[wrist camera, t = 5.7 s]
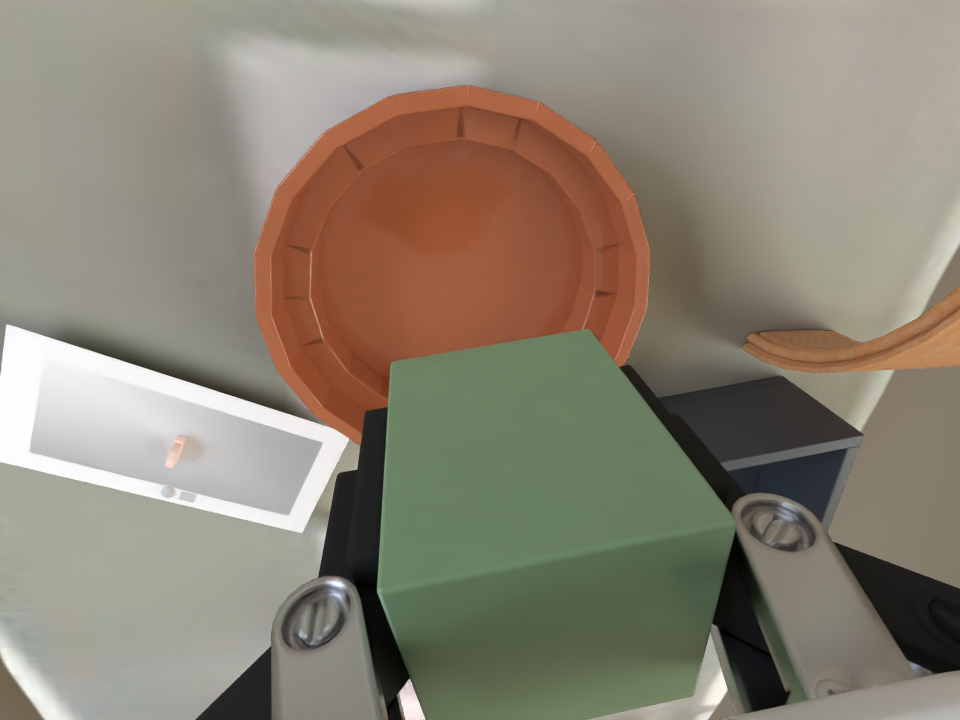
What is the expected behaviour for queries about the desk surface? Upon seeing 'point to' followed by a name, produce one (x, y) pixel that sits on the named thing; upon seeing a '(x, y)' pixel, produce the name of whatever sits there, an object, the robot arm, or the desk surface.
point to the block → (542, 536)
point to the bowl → (442, 244)
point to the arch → (867, 345)
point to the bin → (774, 440)
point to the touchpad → (158, 434)
